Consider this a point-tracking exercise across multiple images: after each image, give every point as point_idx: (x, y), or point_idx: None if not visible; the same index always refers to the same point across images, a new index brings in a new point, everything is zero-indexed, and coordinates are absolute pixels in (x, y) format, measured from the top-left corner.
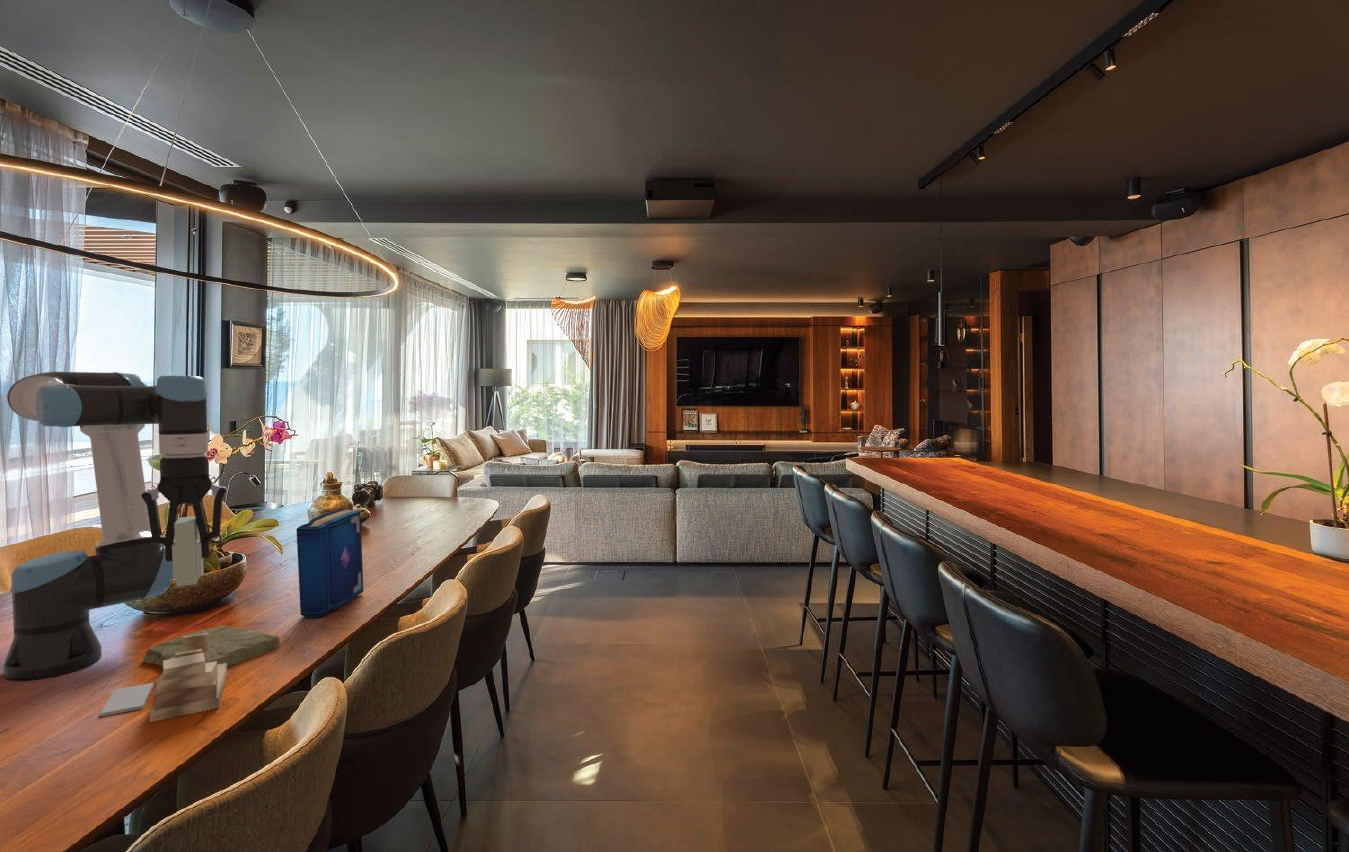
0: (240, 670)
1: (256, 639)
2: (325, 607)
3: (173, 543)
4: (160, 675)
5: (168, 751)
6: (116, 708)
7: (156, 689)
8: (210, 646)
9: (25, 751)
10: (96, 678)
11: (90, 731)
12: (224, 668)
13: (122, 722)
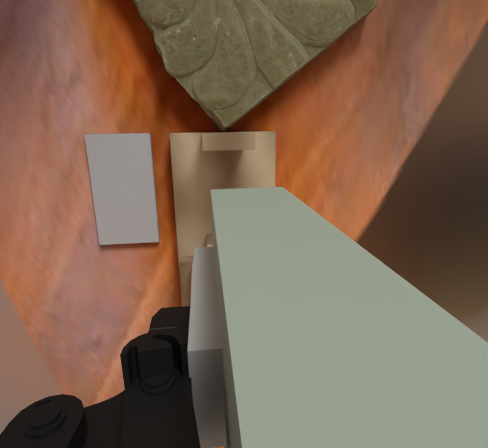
0: (294, 133)
1: (333, 13)
2: None
3: (192, 397)
4: (190, 305)
5: None
6: (119, 236)
7: (184, 291)
8: (235, 1)
9: (39, 321)
10: (13, 13)
11: (106, 293)
12: (273, 164)
13: (143, 281)
